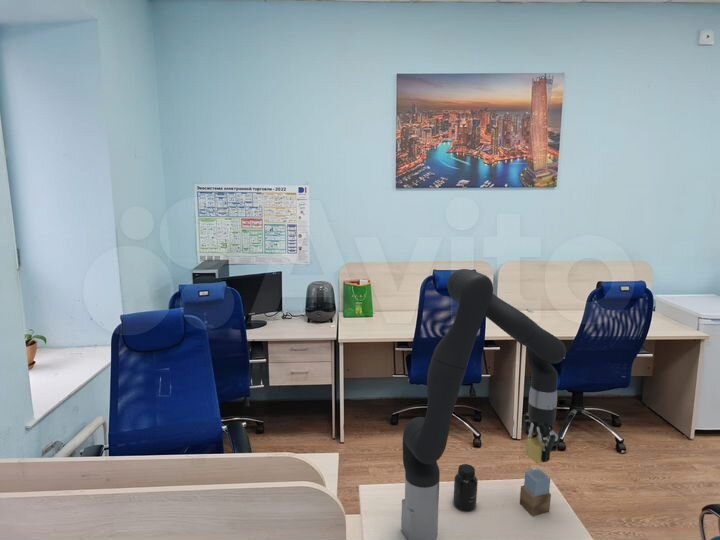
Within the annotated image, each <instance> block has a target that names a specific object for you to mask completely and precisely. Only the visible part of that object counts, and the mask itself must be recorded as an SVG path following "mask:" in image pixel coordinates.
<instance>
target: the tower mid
mask: <svg viewBox="0 0 720 540" xmlns="http://www.w3.org/2000/svg"><path fill="white" fill-rule="evenodd" d="M523 484H524V487H525V488H526V489H527V490H528V491H529V492H530V493H531V494H532V495H533V496H534V497H537V496H541V495H545V494H549V493H550V488H551V485H550V484H551V477H550V476H549V475H548V474H546V473H545V472H544V471H543V470H541V468H537V469H533V470H532V469H531V470H528V471H525V472H524V483H523Z"/></svg>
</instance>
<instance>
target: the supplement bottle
mask: <svg viewBox="0 0 720 540" xmlns="http://www.w3.org/2000/svg"><path fill="white" fill-rule="evenodd" d="M477 499H478V478H477V476H476V469H475V467H474V466H473V465H471V464H467V463H463V464H460V465H458V470H457V473H456V474H455V476H454V482H453V500H452V501H453V502H452V503H453V505H454V506H455V507H456V509H458V510H460V511H463V512H464V511H466V512H470V511H473V510H474V509H476V506H477Z"/></svg>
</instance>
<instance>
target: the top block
mask: <svg viewBox="0 0 720 540" xmlns="http://www.w3.org/2000/svg"><path fill="white" fill-rule="evenodd" d="M543 439H545V437H544V438H543ZM545 444H546V446H548V445H547V442H546V443H545ZM525 452H526V453H525V455H526V456H527V457H528V458H530V459H531V460H532V461H533V462H534V463H535V464H542V463H543V462H542V461H541V455H542V444H541V442H540V441H539V436H538V437H535V438H530V439H528V438H527V440H526V451H525ZM552 455H553V452H550V460H549V461H548V462H552V458H553V456H552Z"/></svg>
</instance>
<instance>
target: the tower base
mask: <svg viewBox="0 0 720 540" xmlns="http://www.w3.org/2000/svg"><path fill="white" fill-rule="evenodd" d="M519 492H520V493H519V495H520V496H519V505H520V506H521V507H522V508H523V509H524V510H525V511H526V512H527V513H528V514H529V515H530V516H531V517H535V516H540V515H543V514H547V513H550V510H551V497H552V494H551V493H550V492H549V494H545V495H541V496H537V497H534V496H533V495H532V494H531V493H530V492H529V491H528V490H527V489H526V488H525V487H524V485H521V486H520V491H519Z"/></svg>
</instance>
